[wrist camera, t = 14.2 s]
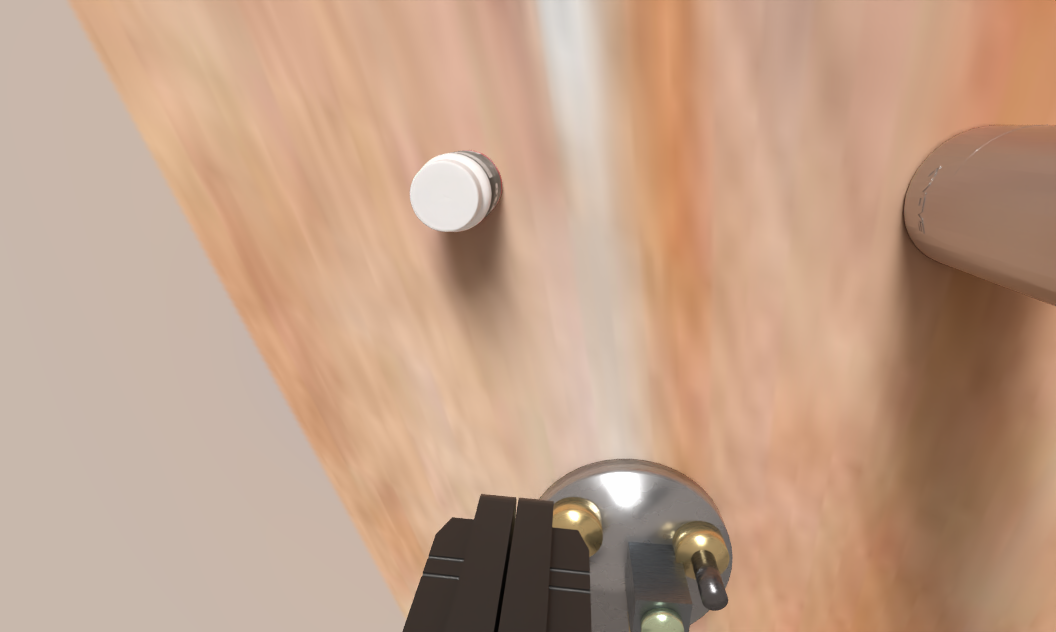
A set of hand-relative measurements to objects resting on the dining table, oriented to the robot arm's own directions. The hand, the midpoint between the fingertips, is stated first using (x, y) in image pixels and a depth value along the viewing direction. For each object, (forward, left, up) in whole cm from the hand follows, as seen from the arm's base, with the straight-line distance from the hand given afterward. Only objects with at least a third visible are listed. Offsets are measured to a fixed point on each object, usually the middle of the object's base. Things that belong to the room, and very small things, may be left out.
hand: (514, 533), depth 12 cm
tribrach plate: (-7, +26, -31) cm, 41 cm away
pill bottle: (+6, -4, -31) cm, 32 cm away
